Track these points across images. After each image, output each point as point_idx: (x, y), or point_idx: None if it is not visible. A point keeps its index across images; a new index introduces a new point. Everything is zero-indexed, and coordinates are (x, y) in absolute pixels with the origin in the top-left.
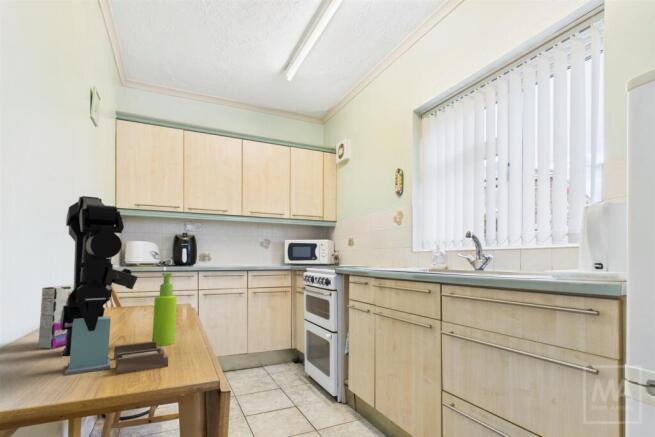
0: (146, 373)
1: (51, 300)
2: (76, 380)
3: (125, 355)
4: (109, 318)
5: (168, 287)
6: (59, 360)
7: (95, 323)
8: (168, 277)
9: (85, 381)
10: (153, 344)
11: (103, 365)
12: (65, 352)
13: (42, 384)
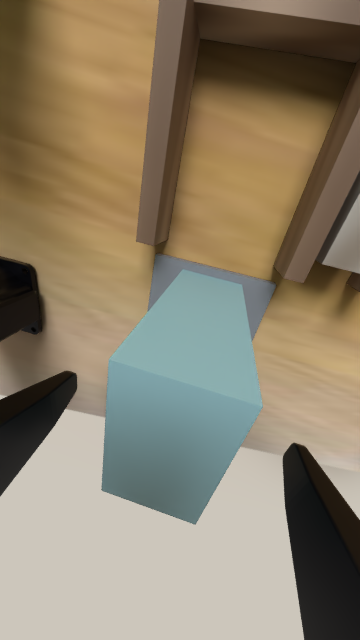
0: None
1: None
2: (305, 370)
3: (337, 253)
4: (246, 408)
5: None
6: (81, 345)
7: (338, 497)
8: None
9: (338, 361)
10: (189, 15)
11: (249, 298)
12: (27, 326)
13: (266, 413)
